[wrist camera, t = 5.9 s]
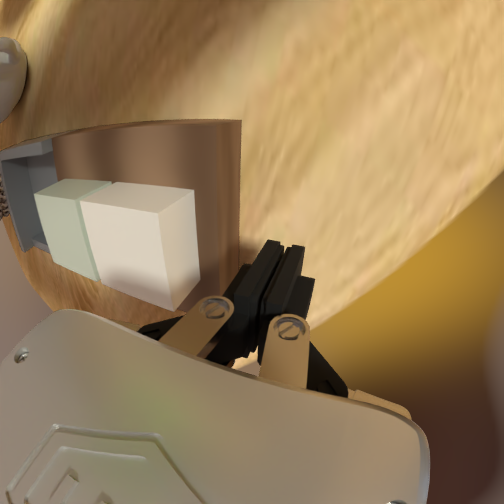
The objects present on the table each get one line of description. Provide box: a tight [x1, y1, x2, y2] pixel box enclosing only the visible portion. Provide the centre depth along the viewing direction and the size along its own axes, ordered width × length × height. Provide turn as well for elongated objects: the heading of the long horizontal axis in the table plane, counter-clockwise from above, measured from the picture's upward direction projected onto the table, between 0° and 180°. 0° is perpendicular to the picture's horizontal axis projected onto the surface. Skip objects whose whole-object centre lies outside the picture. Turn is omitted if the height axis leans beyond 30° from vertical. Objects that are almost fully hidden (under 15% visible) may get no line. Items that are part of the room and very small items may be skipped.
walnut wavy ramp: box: [51, 119, 241, 312], centre depth 17 cm, size 14×12×3 cm
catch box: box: [0, 129, 79, 254], centre depth 20 cm, size 12×12×4 cm
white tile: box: [80, 182, 200, 312], centre depth 14 cm, size 6×6×3 cm
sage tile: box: [34, 179, 112, 282], centre depth 16 cm, size 6×6×3 cm
